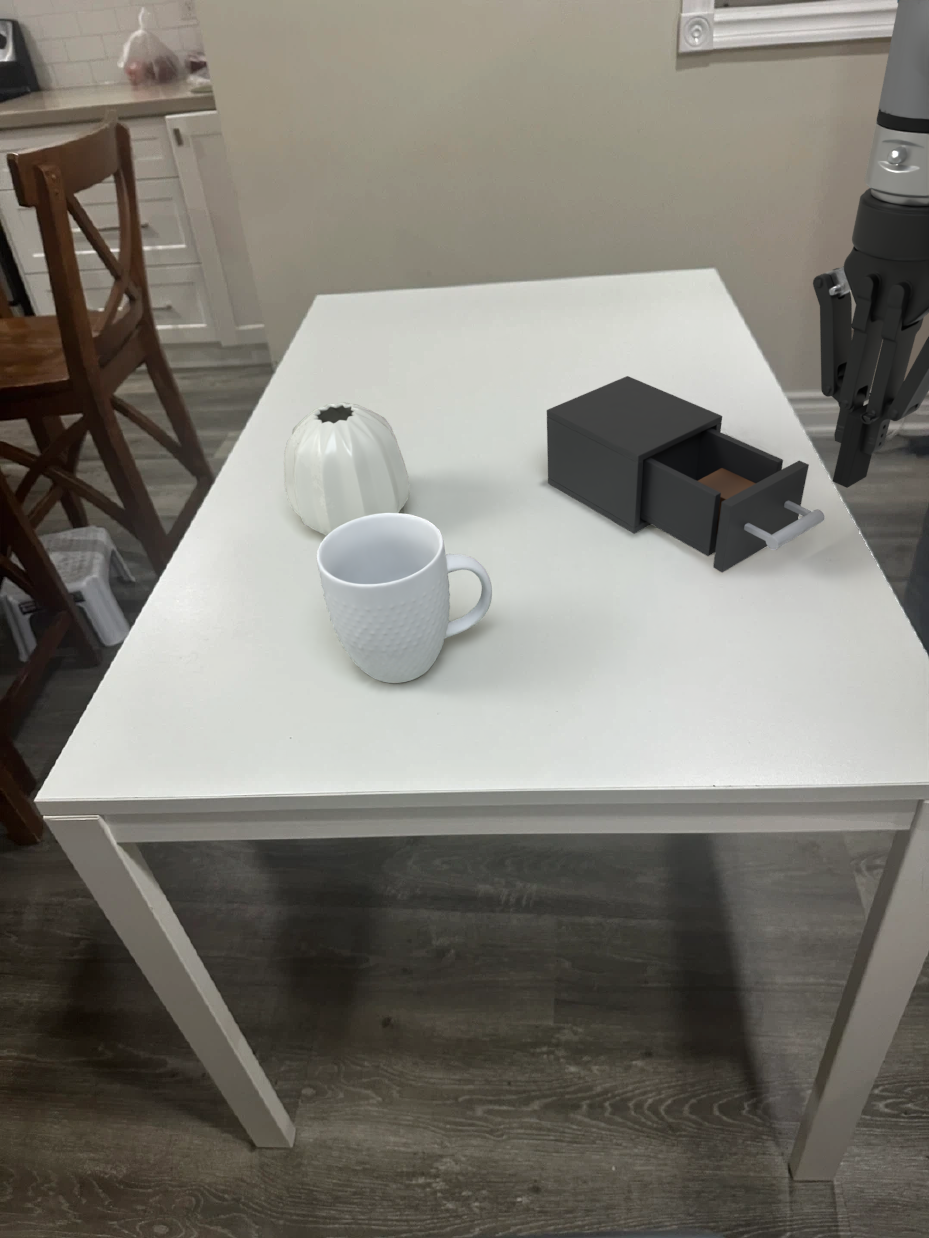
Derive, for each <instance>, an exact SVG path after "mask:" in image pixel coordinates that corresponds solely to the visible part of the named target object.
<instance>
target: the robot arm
mask: <svg viewBox="0 0 929 1238" xmlns="http://www.w3.org/2000/svg"><path fill="white" fill-rule="evenodd" d="M896 3H897V7H896V12H895V18H894V24H893V29H892V35H891V40H890V44H889V51H888V55H887V61H886V66H885V72H884V77H883V82H882V87H881V92H880V97H879V101H878V102H879V103H878V108H877V109H878V112H877V116H876V120H875V122H874V123H875V124H874V129H873V133H872V139H871V144H870V149H869V154H868V158H867V163H866V169H865V173H864V174H865V175H864V177H863V182H864V183H865V185H866V186H867V187H868V188H867V189H866V190H865V191H864V192H863V193H862V194H861V195H860V196H859V200H858V201H859V202H858V205H857V211H856V215H855V221H854V226H853V230H852V231H853V232H852V236H851V242H852V246H853V247H852V249H851V251H850V252H849V254H848V255H846V258H845V260H844V263H843V266H841V267H835V268H833V269H831V270H828V271H825V272H823V273H821V274H819V275H816V276H815V277H814V278H813V280H812V287H813V289H814V293H815V296H816V298H817V299H816V300H817V302H818V306H819V332H820V333H819V334H820V335H819V337H820V338H819V339H820V340H819V341H820V385H821V386H820V389H821V393H822V395H823V396H824V397H827V398H829V397H832V398H833V399H834V400H835V401H836V402H837V404H838V407H839V412H838V415H837V421H836V425H835V430H834V434H833V436H834V442H836V443H838V444H839V443H840V445H839V451H838V456H837V459H836V464H835V468H834V473H833V477H832V482H833V483H835V484H837V485H840V486H842V487H844V488H846V489H847V488H850V487H851V486H853V485H854V484H857V483H859V482H860V481H861V480H864V479H865V478H867V476H868V471H869V468H870V464H871V459H872V456H873V454H875V453H876V452H878V451H880V450H881V449H882V448H883V447H884V446H885V442H886V438H887V435H888V431H889V428H890V424H891V421H892V422H899V421H901V420H902V419H904V418H906V417H908V416H909V415H911V414H913V413H915V412H917V411H918V410H919V409H920V407H921V405H922V404H923V401H924V400H925V398H926V397H927V395H928V393H929V336H928V337H927V338H926V340H925V342H924V344H923V345H922V347H921V349H920V351H919V353H918V355H917V356H916V358H915V360H914V362H913V364H912V366H911V367H910V369H909V371H908V367H909V363H910V359H911V355H912V351H913V348H914V343H915V340H916V336H917V333H918V332H919V331H920V330H921V328H922V325H923V322H924V318H925V317H926V316H927V315H928V314H929V0H896ZM852 298H853V300H854V303H855V307H854V311H853V305H852V304H853V301H852ZM853 312H854V313H853ZM852 317H853V318H852ZM907 371H908V373H907ZM906 374H907V375H906ZM867 401H868V402H867ZM865 402H867V403H866V404H865Z"/></svg>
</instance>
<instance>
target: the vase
mask: <svg viewBox="0 0 929 1238" xmlns="http://www.w3.org/2000/svg"><path fill="white" fill-rule="evenodd" d="M283 479H284V487H285V493H286V497H287V500H288V503H289V505H290V508H291V510H292V511H293V512H294V513H295V514H297V515H298V516H299V517H300V519H301V521H302V523H303V525H304V526H306V527H308V528H310V529H312V530H314V531H316V532H317V533H320V534H322V535H324V536H325V537H326V536H327V535H328V534H329V533H330V532H331V531H333V530H334V529H336V528H337V527H339V526H341V525H343V524H345V523H347V522H349V521H351V520H354V519H357V518H360V517H364V516H368V515H373V514H379V513H400V512H401V509H402V508H404V506H405V504H406V502H407V501H408V499H409V498H410V493H411V492H410V488H411V485H410V479H409V473H408V470H407V467H406V463H405V459H404V457H403V454H402V452H401V448H400V444H399V443H398V440H397V437H396V434H395V431H394V429H393V428H392V425H391V424H390V423H389V420H387V418H385V417H384V416H383V415H380V414H378V413H377V412H375V411H374V410H371V409H369V408H366V407H364V406H362V405H360V404H356V403H350V402H345V401H341V402H338V403H327V404H325V405H323V406H320V407H317V408H315V409H313V410H312V411H310V412H309V413H308V414H307V415H305V416H304V417H303V418H302V419H301V420H300V421H299V422H298V423H297V424H296V425H295V426H294V427H293V428H292V431H291V435H290V437H289V438H288V440H287V442H286V445H285V449H284V453H283Z"/></svg>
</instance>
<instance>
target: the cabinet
mask: <svg viewBox="0 0 929 1238" xmlns="http://www.w3.org/2000/svg"><path fill="white" fill-rule="evenodd" d="M722 422H723V415H721V414H719V413H717V412H714V411H712V410H709V409H707V408H704V407H702V406H700V405H697V404H695V403H693V402H690V401H688V400H686V399H684V398H681V397H678V396H676V395H674V394H671V393H669V392H667V391H664V390H662V389H659V388H657V387H655V386H652V385H650V384H648V383H646V382H643V381H641V380H638V379H636V378H634V377H631V376H628V375H627V376H624V377H622V378H619V379H616V380H615V381H612V382H610V383H607V384H605V385H602V386H600V387H598V388H595V389H593V390H591V391H588V392H586V393H583V394H581V395H579V396H577V397H574V398H572V399H570V400H567V401H565V402H561V403H560V404H558V405H555V406H553V407H550V408H548V409H546V445H547V446H546V448H547V484H548V485H550V486H552V487H554V488H556V489H557V490H559V491H560V492H562V493H564V494H565V495H568V496H570V498H572V499H574V500H576V501H578V502H579V503H581V504H582V505H584V506H586V507H588V508H589V509H591V510H592V511H594V512H596V513H598V514H600V515H601V516H603V517H605V518H607V519H608V520H610V521H612V522H613V523H615V524H617V525H619V526H620V527H622V528H623V529H626V530H627V531H629V532H631V533H632V534H637V533H638V532H640V531H642V530H644V529H646V528H647V527H649V526H652V524H650V523H648V522H646V521H645V520H643V519H641V518H640V507H641V490H642V473H643V460H644V459H646V458H648V457H650V456H652V455H655V454H657V453H659V452H661V451H663V450H665V449H667V448H669V447H671V446H673V445H675V444H677V443H679V442H682V441H684V440H686V439H688V438H690V437H692V436H694V435H696V434H698V433H700V432H702V431H704V430H706V429H709V428H712V429H714V430H717V431H719V432H721V431H722V424H723V423H722ZM721 433H722V432H721Z"/></svg>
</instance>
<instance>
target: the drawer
mask: <svg viewBox="0 0 929 1238" xmlns="http://www.w3.org/2000/svg"><path fill="white" fill-rule="evenodd" d="M783 464H784V459H783V458H780V457H778V456H776V455H773V454H771V453H769V452H767V451H765V450H762V449H760V448H758V447H755V446H753V445H751V444H748V443H746V442H745V441H742V440H740V439H737V438H735V437H733V436H730V435H728V434H726V433H724V432H719V431H717V430H714V429H712V428H709V429H706V430H704V431H702V432H700V433H698V434H696V435H694V436H692V437H690V438H688V439H686V440H684V441H682V442H679V443H677V444H675V445H673V446H671V447H669V448H667V449H665V450H663V451H661V452H659V453H657V454H655V455H652V456H650V457H648V458H646V459H644V460H643V473H642V490H641V507H640V518H641V519H643V520H645V521H646V522H648V523H650V524H651V526H653V527H655V528H656V529H659V530H660V531H662V532H664V533H666V534H668V535H670V537H673V538H675V539H676V540H677V541H680V542H681V543H684V544H685V545H687V546H689V547H690V548H691V549H694V550H696V551H698V552H699V553H701V554H703V555H705V556H707V557H710V556H712V555H714V559H713V565H712V567H713V569H715V570H717V571H718V572H719V573H724V572H726V571H728V570H729V569H731V568H733V567H734V566H736V565H738V564H740V563H741V562H743V561H745V560H747V559H748V558H750V557H752V556H753V555H756V554H757V553H758V552H760V551H762V550H764V549H766V548H768V549H770V550H773V551H775V550H776V551H777V549H779V548H781V547H782V546H784V545H786V544H788V543H790V542H791V541H793V540H794V539H797V538H798V537H799V536H802V535H803V534H805V533H806V532H808V531H810V530H811V529H813V528H815V527H816V526H818V525H820V524H822V523H823V522H824V521H825V519H826V518H825V517H826V516H825V513H824V512H823V511H822V510H821V509H816V508H815V509H813V510H812V511H811V510H809V509H808V508H806V507H804V506H802V501H803V496H804V491H805V486H806V481H807V476H808V471H809V466H810V465H809V464H808V463H806V462H804V461H802V460H797V461H795V462H793V463H792V464H790V465H788V466H786V467H784V468H783ZM721 468H723V469H726V470H728V471H730V472H732V473H734V474H736V475H739V476H741V477H743V478H745V479H747V480H749V481H752V482H754V483H756V484H754V485H752V486H750V487H748V488H747V489H745V490H743V491H741V492H739V493H737V494H735V495H734V496H732V497H730V498H728V499H726V500H724V501H722V503H721V511H720V519H719V526H718V534H716V528H717V520H718V512H719V504H720V497H721V493H720V492H718V491H716V490H714V489H712V488H710V487H708V486H706V485H704V484H702V483H700V482H698V480H700V479H702V478H704V477H706V476H708V475H709V474H711V473H713V472H715V471H717V470H719V469H721ZM799 516H801V517H799Z"/></svg>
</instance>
